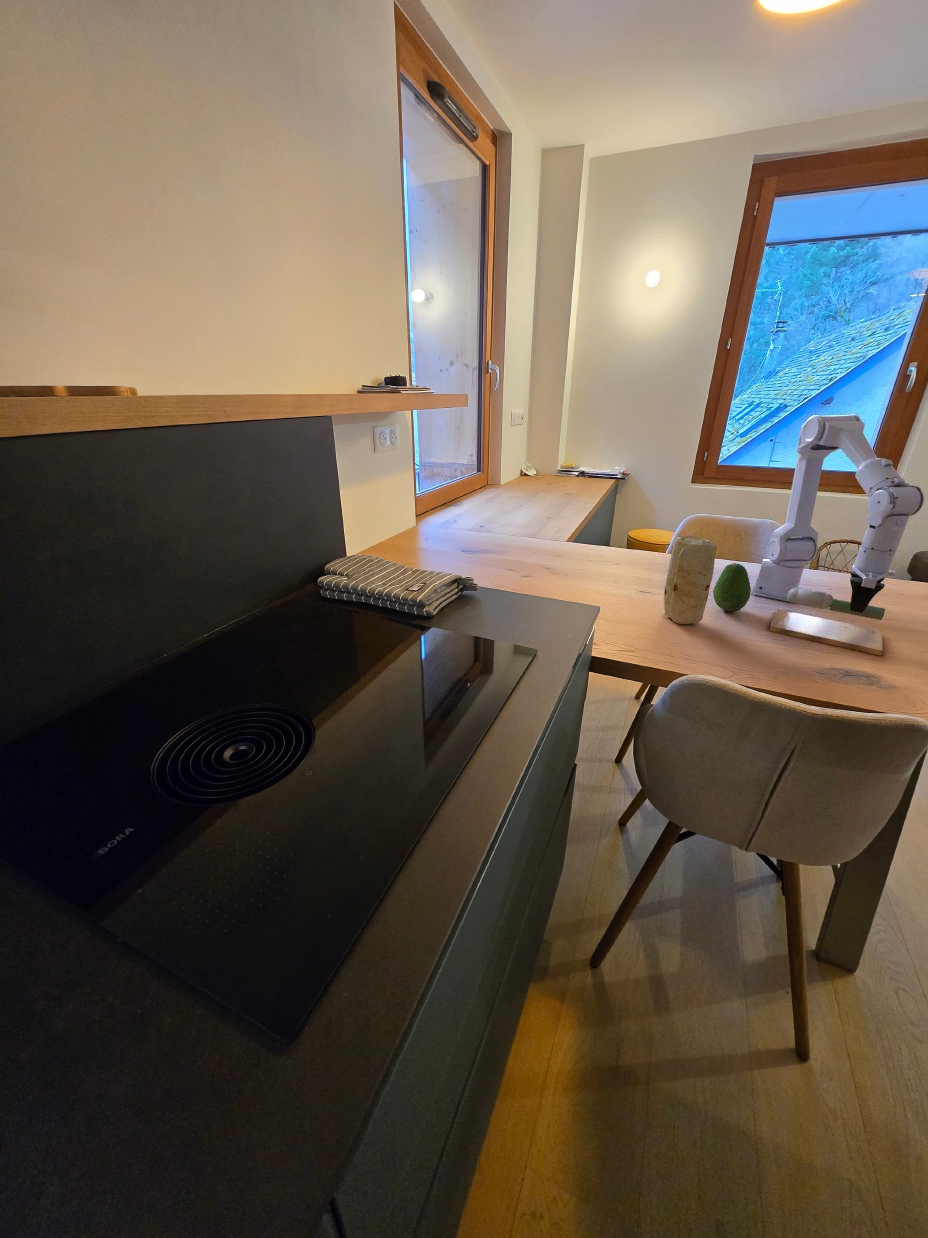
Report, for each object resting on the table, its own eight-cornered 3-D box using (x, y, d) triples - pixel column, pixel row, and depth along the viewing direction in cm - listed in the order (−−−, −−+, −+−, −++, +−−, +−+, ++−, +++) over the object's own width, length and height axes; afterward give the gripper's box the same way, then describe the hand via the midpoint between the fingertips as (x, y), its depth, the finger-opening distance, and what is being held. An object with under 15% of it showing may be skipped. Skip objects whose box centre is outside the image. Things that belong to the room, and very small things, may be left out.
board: (769, 630, 111) (770, 625, 111) (776, 613, 119) (777, 609, 119) (880, 655, 101) (882, 650, 100) (880, 635, 108) (881, 630, 108)
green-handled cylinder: (880, 616, 104) (886, 601, 103) (881, 623, 102) (887, 607, 100) (786, 598, 114) (790, 584, 112) (784, 603, 111) (788, 589, 110)
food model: (706, 620, 117) (724, 538, 108) (696, 630, 112) (714, 545, 103) (665, 609, 122) (679, 531, 114) (654, 618, 118) (668, 537, 109)
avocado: (717, 601, 127) (727, 556, 121) (749, 609, 122) (761, 563, 116) (704, 610, 122) (714, 564, 116) (738, 620, 117) (750, 572, 111)
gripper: (906, 560, 92) (880, 625, 97) (902, 541, 102) (879, 601, 108) (859, 554, 95) (837, 617, 101) (860, 536, 106) (840, 594, 112)
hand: (856, 608), depth 105 cm, fingers closed on green-handled cylinder, 2 cm apart
